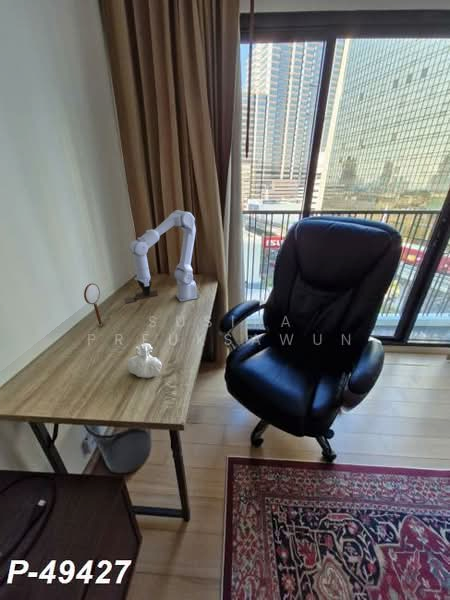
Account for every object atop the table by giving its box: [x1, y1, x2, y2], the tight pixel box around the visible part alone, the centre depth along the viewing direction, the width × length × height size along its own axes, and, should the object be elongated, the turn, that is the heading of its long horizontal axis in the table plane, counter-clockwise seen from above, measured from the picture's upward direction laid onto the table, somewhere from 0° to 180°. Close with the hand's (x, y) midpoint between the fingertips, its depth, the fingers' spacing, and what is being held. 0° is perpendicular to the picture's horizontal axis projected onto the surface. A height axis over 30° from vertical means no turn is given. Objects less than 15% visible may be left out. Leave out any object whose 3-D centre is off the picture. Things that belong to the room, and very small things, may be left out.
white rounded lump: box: [127, 342, 163, 379], centre depth 83 cm, size 12×8×11 cm
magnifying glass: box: [83, 283, 103, 327], centre depth 106 cm, size 9×2×20 cm, turn 169°
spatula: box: [124, 288, 159, 305], centre depth 118 cm, size 15×5×3 cm, turn 116°
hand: (146, 294), depth 119 cm, fingers closed on spatula, 2 cm apart
